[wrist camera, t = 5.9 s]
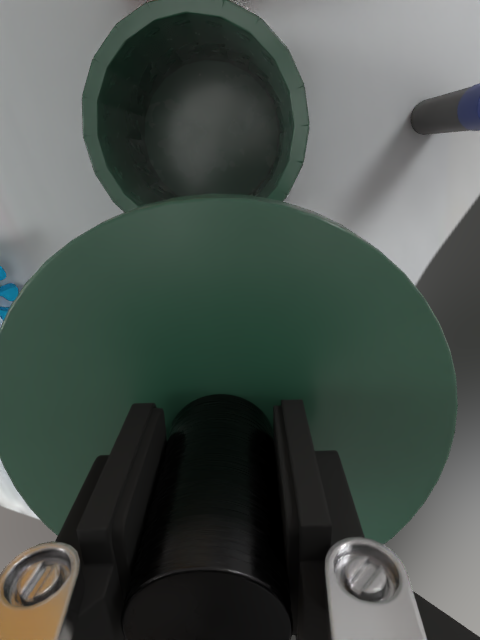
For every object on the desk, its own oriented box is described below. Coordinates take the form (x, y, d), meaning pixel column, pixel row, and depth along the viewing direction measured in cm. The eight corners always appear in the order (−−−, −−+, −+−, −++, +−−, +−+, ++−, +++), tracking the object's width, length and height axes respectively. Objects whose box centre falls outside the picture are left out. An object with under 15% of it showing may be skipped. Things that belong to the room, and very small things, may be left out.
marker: (429, 90, 31) (507, 64, 22) (450, 115, 32) (535, 101, 22) (403, 118, 32) (468, 104, 23) (423, 142, 32) (495, 139, 23)
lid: (206, 72, 10) (140, -66, 4) (518, 398, 13) (772, 624, 7) (-62, 411, 13) (-329, 637, 7) (235, 603, 16) (229, 876, 10)
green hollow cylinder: (204, 9, 29) (180, -73, 19) (318, 132, 32) (355, 123, 22) (106, 142, 33) (37, 137, 22) (218, 243, 36) (206, 283, 25)
